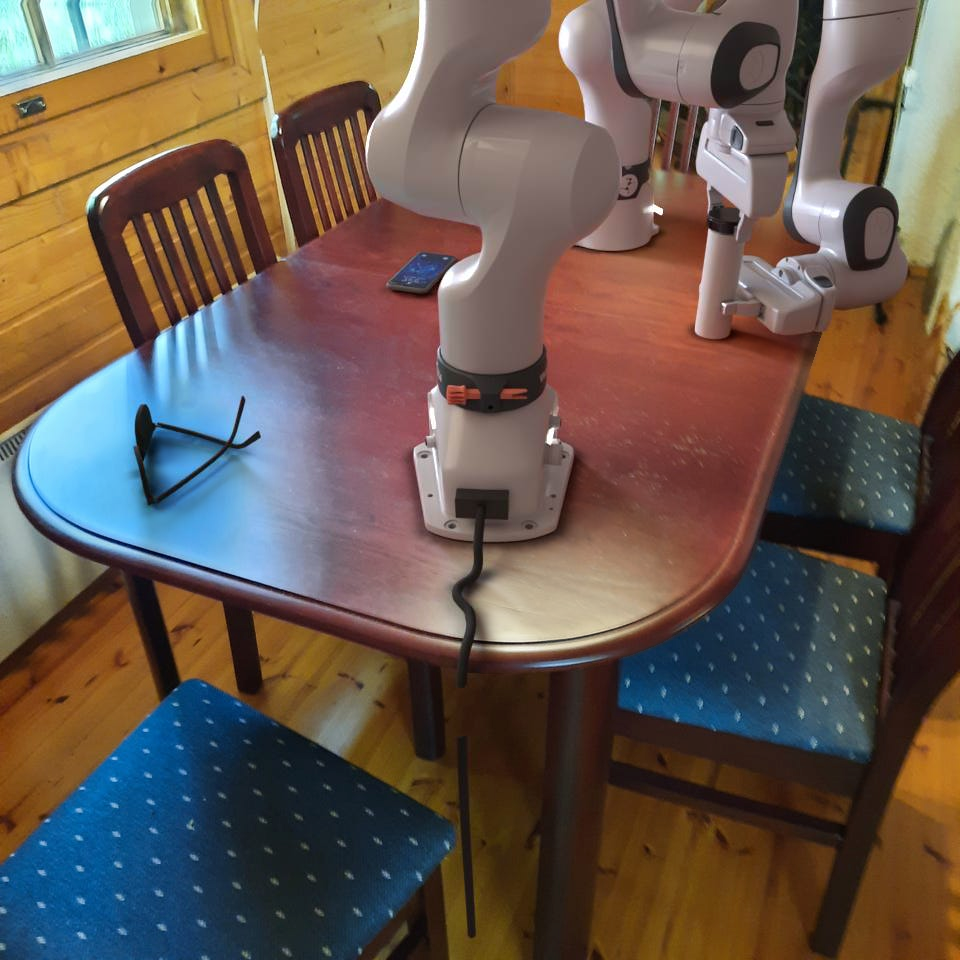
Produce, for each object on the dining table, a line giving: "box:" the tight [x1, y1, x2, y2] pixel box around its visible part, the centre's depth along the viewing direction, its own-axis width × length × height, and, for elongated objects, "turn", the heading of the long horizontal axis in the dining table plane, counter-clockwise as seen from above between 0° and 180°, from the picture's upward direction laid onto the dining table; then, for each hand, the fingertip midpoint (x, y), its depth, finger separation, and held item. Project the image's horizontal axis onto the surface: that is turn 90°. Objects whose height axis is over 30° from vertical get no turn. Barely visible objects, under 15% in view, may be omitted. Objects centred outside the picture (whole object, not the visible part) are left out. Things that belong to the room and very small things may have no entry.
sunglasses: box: [132, 395, 262, 506], centre depth 100 cm, size 17×14×5 cm
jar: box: [694, 228, 746, 340], centre depth 120 cm, size 5×5×17 cm
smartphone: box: [386, 251, 457, 295], centre depth 143 cm, size 7×1×15 cm
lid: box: [705, 206, 741, 234], centre depth 115 cm, size 6×6×2 cm
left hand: (727, 228), depth 116 cm, fingers open, 8 cm apart
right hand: (711, 299), depth 122 cm, fingers closed on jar, 5 cm apart
